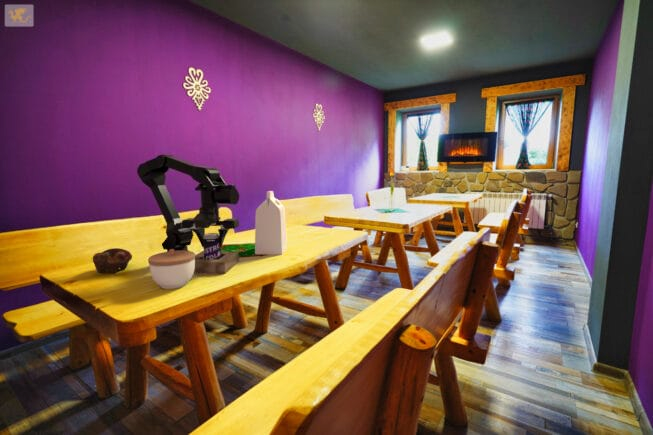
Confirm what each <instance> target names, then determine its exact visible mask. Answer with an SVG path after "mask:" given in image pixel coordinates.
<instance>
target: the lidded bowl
mask: <svg viewBox="0 0 653 435" xmlns="http://www.w3.org/2000/svg"><path fill="white" fill-rule="evenodd" d="M195 255H196V253H195V252H194V251H190V250H189V251H174V249H170V251H168V252H167V251H163V252H159V253H156V254H153V255H151V256H148V260H147V262H148V266H149V273H150V276H151V278H152V280H153V281H154V283H156V284H157V285H158V286H160V287H161V288H162V289H164V290H173V289H179V288H182V287H184V286H187V284H188V282H189V281H191V279H192V277H193V276H194V275H195V273H194V270H195Z"/></svg>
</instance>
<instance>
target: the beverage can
mask: <svg viewBox="0 0 653 435" xmlns="http://www.w3.org/2000/svg"><path fill="white" fill-rule="evenodd" d="M202 249H203V251H204V259H218V260H219V259H220V258H221V250H222V249H221V247H219V232H210V233H209V232H208V233H205V234H204V237H203V247H202Z"/></svg>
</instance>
